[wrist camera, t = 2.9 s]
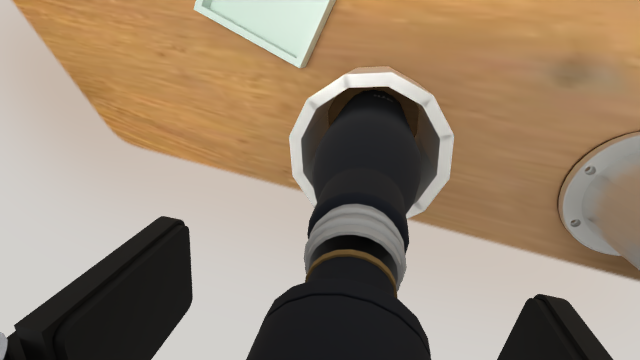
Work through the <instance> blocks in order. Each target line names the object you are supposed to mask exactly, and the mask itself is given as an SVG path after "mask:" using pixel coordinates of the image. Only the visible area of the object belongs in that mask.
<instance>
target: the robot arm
mask: <svg viewBox="0 0 640 360" xmlns="http://www.w3.org/2000/svg"><path fill="white" fill-rule="evenodd" d="M558 210H559V214H560V218H561V221H562V223H563V224H564V226H565V228H566V229H567V231H568V232H569V233H570V234H571V235H572V236H573V237H574V238H575V239H577V240H578V241H579V242H580V243H581V244H583V245H584V246H586V247H588V248H590V249H592V250H594V251H597V252H600V253H603V254H609V255H615V256H623V257H624V258H625V259H626V260H628V261H629V262H630V263H631V264H632V265H634V266H635V267H636V268H637V269H638V270H640V132H635V133H630V134H626V135H624V136H621V137H618V138H615V139H612V140H610V141H608V142H606V143H605V144H603V145H601V146H599V147H597V148H596V149H594V150H593V151H591V152H590V153H589V154H587V155H586V156H585V157H584V158H583V159H582V160H581V161H580V162H578V163H577V164H576V165H575V167H574V168H573V169H572V171H571V172H570V173H569V175H568V176H567V178H566V180H565V182H564V184H563V186H562V188H561V192H560V196H559V209H558ZM191 303H192V277H191V257H190V238H189V228H188V227H187V226H185V224H184V222H183V221H182V220H179V219H174V218H170V217H165V216H161V217H160V218H158V219H156V220H155V221H154V222H152V223H151V224H150V225H149V226H147V227H146V228H144V229H143V230H142V231H141V232H139V233H138V234H136V235H135V236H134V237H132V238H131V239H129V240H128V241H127V242H125V243H124V244H123V245H121V246H120V247H119V248H118V249H116V250H115V251H113V252H112V253H111V254H109V255H108V256H107V257H105V258H104V259H103V260H101V261H100V262H99V263H97V264H96V265H94V266H93V267H92V268H90V269H89V270H88V271H87V272H85V273H84V274H82V275H81V276H80V277H78V278H77V279H76V280H74V281H73V282H72V283H70V284H69V285H68V286H66V287H65V288H64V289H62V290H61V291H59V292H58V293H57V294H56V295H54V296H53V297H51V298H50V299H49V300H47V301H46V302H45V303H43V304H42V305H41V306H39V307H38V308H37V309H35V310H34V311H33V312H31V313H30V314H29V315H27V316H26V317H24V318H23V319H22V320H20V321H19V322H18V323H16V324H15V325H14V326H15V329H16V331H15V332H14V333H12V334H11V335H10V336H8V337H7V338H6V337H5V335H4V334H3V333H0V360H151V359H152V358H153V356H154V355H155V354H156V352H157V351H158V350H159V348H160V347H161V346H162V344H163V343H164V342H165V340H166V339H167V338H168V336H169V335H170V334H171V332H172V331H173V330H174V328H175V327H176V325H177V324H178V323H179V322H180V320H181V319H182V318H183V316H184V315H185V313H186V312H187V311H188V309H189V307H190V305H191ZM497 360H613V359H612V358H611V356H610V355H609V354H608V352H607V351H606V350H605V348H604V347H603V346H602V344H601V343H600V342H599V341H598V339H597V338H596V337H595V335H594V334H593V333H592V331H591V330H590V329H589V328H588V326H587V325H586V324H585V322H584V321H583V320H582V318H581V317H580V316H579V315H578V313H577V312H576V311H575V309H574V308H573V307H572V305H571V304H570V303H569V302H568V301H566V300H565V299H562V298H556V297H552V296H547V295H543V294H537V295H536V296H535V297H534V298H529V299H528V300H527V301H526V303H525V305H524V307H523V309H522V311H521V313H520V315H519V317H518V319H517V321H516V323H515V325H514V327H513V329H512V331H511V333H510V335H509V337H508V339H507V341H506V343H505V345H504V347H503V349H502V351H501V353H500V355H499V357H498V359H497Z"/></svg>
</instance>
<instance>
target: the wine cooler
mask: <svg viewBox="0 0 640 360" xmlns="http://www.w3.org/2000/svg"><path fill="white" fill-rule="evenodd" d="M383 86H388V87H390V88H392V89H394V90H395V91H397V92H399V93H401V94H403V95H404V96H406V97H408V98H410V99H411V100H413V101H415V103H416V104H417V106H418V108H419V115H418V131H417V134H416V136H415V137H414V139H415V142H416V144H417V147H418V149H419V152H420V154H421V167H422V173H421V180H420V183H419V187H418V190H417V194H416V197H415V201H414V203H413V205H412V207H411V208H410V210H409V211H408V213H407V214H406V219H408V218H410V217H412V216H414V215H417V214H419V213H421V212H424V211H425V209H426V208H427V207H428V206H429V204H430V203H431V202H432V200H433V199H434V198H435V197H436V195H437V194H438V193H439V191H440V190H441V189H442V187H443V186H444V185H445V184H446V182H447V181H448V180H449V179H450V169H451V160H452V151H453V142H454V134H453V132H452V130H451V129H450V127H449V125H448V123H447V121H446V119H445V117H444V115H443V113H442V111H441V109H440V107H439V105H438V103H437V102H436V100H435V98H434V95H432V94H431V93H430V92H428V91H427V90H426V89H425V88H423V87H422V86H421V85H419V84H418V83H417V82H415V81H414V80H412V79H410V78H408V77H407V76H405V75H403V74H401V73H399V72H398V71H396V70H394V69H392V68H391V67H389V66H377V67H357V68H356V69H354V70H352V71H350V72H348V73H346V74H344V75H343V76H341V77H340V78H338V79H337V80H335V81H334V82H332V83H331V84H329V85H328V86H326V87H325V88H323V89H322V90H320V91H319V92H317V93H316V94H314V95H313V96H311V97H310V98H308V99H307V101H306V103H305V105H304V107H303V109H302V111H301V113H300V115H299V117H298V119H297V121H296V124H295V126H294V128H293V130H292V132H291V134H290V136H289V140H290V152H291V163H292V176H293V177H294V178H295V180H296V181H297V183H298V184H299V186H300V187H301V189H302V190H303V192H304V193H305V195H306V196H307V198H308V199H309V201H310V202H311V204H312V205H313V207H314V208H315V206H316V204H317V201H316V197H315V192H314V187H313V166H314V159H315V152H316V149H317V147H318V145H319V143H320V141H321V139H322V137H323V136H324V134H325V133H326V132H327V130H328V129H329V120H328V110H329V108H330V106H331V104H332V103H333V101H334V99H335V97H336V95H338V94H339V93H341V92H343V91H344V90H346V89H347V88H356V87H383Z"/></svg>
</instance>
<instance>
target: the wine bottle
mask: <svg viewBox="0 0 640 360" xmlns="http://www.w3.org/2000/svg"><path fill="white" fill-rule="evenodd" d="M421 173H422V167H421V154H420V152H419V149H418V147H417V144H416V142H415V139H414V137H413V134H412V132H411V129H410V127H409V124H408V122H407V119H406V117H405V114H404V112H403V110H402V107H401V105H400V103H399V102H398V101H397V100H396V99H395V98H394V97H393V96H392V95H390V94H388V93H386V92H385V91H380V90H374V89H373V90H367V91H363V92H361V93H359V94H357V95H355V96H353V97H352V98H351V99H350V100H349V101H348V102H347V104H346V105H345V106H344V108H343V109H342V111H341V112H340V113H339V115H338V116H337V118H336V119H335V120H334V122H333V123H332V125H331V126H330V127H329V129H328V130H327V132H326V133H325V134H324V136H323V137H322V139H321V141H320V143H319V145H318V147H317V149H316V152H315V159H314V166H313V187H314V192H315V197H316V201H317V204H316V206H315V209H314V211H313V214H312V216H311V218H310V220H309V227H308V239H309V240H308V242H307V244H306V246H305V253H304V262H305V270H306V274H307V275H306V280H305V283H303V284H300V285H296V286H293V287H292V288H290V289H289V290H287V291H286V292H285V293H284V294H282V295H281V296H279V297H278V298H277V299H276V300H275V301H274V303H273V304H272V306H271V308H270V309H269V311H268V313H267V315H266V316H265V318H264V321H263V323H262V325H261V327H260V330H259V333H258V334H257V336H256V339H255V341H254V343H253V346H252V348H251V350H250V352H249V355H248V357H247V359H246V360H431V355H430V349H429V343H428V338H427V336H426V334H425V332H424V330H423V328H422V326H421V324H420V322H419V320H418V318H417V317H416V316H415V315H414V314H413V313H412V312H411V311H410V310H409V309H408V308H407V307H406V306H405V305H403V303H402V302H400V301H399V300H398V299H397V291H398V290H399V286H400V283H401V282H402V280H403V277H404V274H405V271H406V259H405V254H406V251H407V247H408V244H409V236H408V225H407V219H406V214H407V213H408V211H409V210H410V208H411V207H412V205H413V203H414V201H415V197H416V194H417V190H418V187H419V183H420V180H421Z"/></svg>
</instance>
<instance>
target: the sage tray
mask: <svg viewBox="0 0 640 360" xmlns="http://www.w3.org/2000/svg"><path fill="white" fill-rule="evenodd" d="M335 1H336V0H196V3H195V6H194V10H196V11H198V12H199V13H201V14H203V15H205V16H207V17H208V18H210V19H212V20H214V21H216V22H217V23H219V24H221V25H223V26H225V27H226V28H228V29H230V30H232V31H234V32H235V33H237V34H239V35H241V36H242V37H244V38H246V39H248V40H250V41H251V42H253V43H255V44H257V45H259V46H260V47H262V48H264V49H266V50H268V51H269V52H271V53H273V54H275V55H277V56H278V57H280V58H282V59H284V60H286V61H287V62H289V63H291V64H293V65H294V66H296V67H298V68H304V67H306V65H307V63H308V60H309V58H310V56H311V54H312V52H313V49H314V47H315V45H316V43H317V41H318V38H319V36H320V34H321V32H322V30H323V27H324V25H325V23H326V21H327V19H328V16H329V14H330V12H331V10H332V8H333V5H334V3H335Z"/></svg>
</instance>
